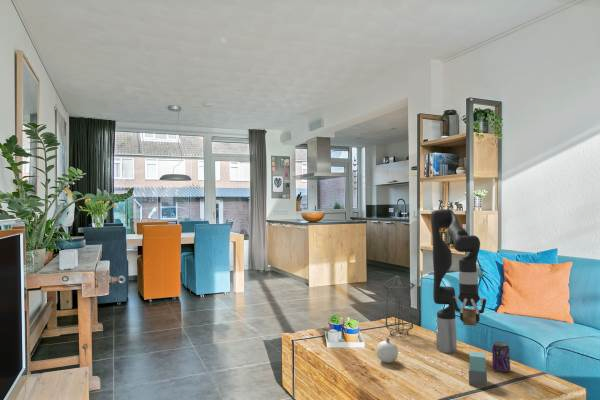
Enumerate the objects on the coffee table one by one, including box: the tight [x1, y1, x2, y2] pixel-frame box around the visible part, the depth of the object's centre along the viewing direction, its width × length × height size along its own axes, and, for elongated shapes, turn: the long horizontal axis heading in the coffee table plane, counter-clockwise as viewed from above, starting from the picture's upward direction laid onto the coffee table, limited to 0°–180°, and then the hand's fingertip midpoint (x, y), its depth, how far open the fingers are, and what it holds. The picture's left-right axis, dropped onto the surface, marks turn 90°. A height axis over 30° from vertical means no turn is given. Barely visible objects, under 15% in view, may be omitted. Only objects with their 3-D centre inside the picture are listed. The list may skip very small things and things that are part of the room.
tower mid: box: [469, 351, 487, 372], centre depth 177 cm, size 6×6×6 cm
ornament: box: [376, 337, 399, 364], centre depth 204 cm, size 10×10×12 cm
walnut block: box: [462, 307, 477, 327], centre depth 178 cm, size 5×5×6 cm
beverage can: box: [491, 341, 511, 373], centre depth 190 cm, size 7×7×12 cm
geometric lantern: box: [380, 275, 416, 338], centre depth 248 cm, size 16×16×35 cm
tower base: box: [468, 364, 488, 388], centre depth 177 cm, size 7×7×6 cm
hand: (470, 321), depth 178 cm, fingers closed on walnut block, 5 cm apart
